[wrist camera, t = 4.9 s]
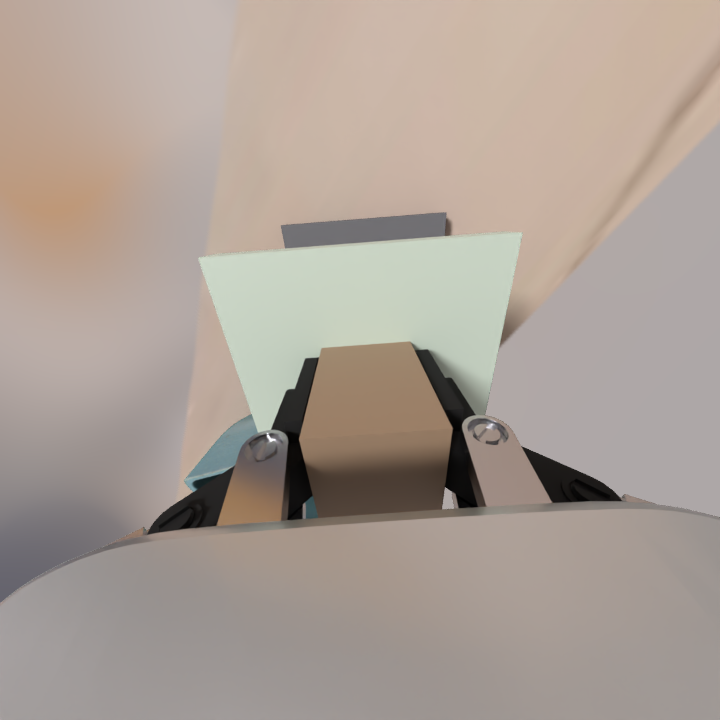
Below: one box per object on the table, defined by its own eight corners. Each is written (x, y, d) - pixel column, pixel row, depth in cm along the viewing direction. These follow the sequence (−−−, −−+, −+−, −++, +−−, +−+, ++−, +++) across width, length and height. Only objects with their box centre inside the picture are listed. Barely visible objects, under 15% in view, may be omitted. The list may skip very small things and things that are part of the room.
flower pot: (313, 374, 24) (293, 451, 16) (347, 437, 28) (343, 522, 21) (233, 400, 26) (179, 481, 18) (276, 456, 30) (247, 542, 22)
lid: (467, 443, 15) (533, 571, 9) (278, 456, 15) (235, 591, 9) (504, 231, 10) (702, 242, 4) (214, 254, 10) (40, 293, 4)
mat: (431, 352, 23) (434, 358, 22) (310, 360, 23) (308, 366, 23) (442, 212, 18) (446, 212, 17) (284, 224, 18) (280, 225, 17)
